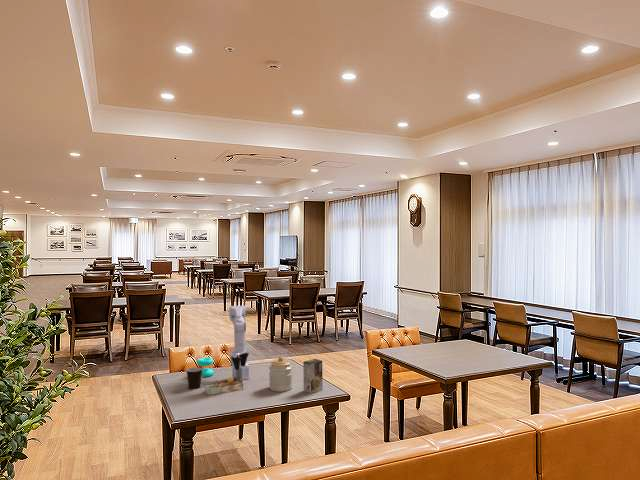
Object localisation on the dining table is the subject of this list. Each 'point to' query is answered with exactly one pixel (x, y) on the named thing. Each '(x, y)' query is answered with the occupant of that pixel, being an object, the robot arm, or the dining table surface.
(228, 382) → the ball
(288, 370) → the jar
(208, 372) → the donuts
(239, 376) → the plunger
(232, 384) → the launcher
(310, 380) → the coffee box
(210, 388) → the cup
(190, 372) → the coffee mug
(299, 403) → the dining table surface
